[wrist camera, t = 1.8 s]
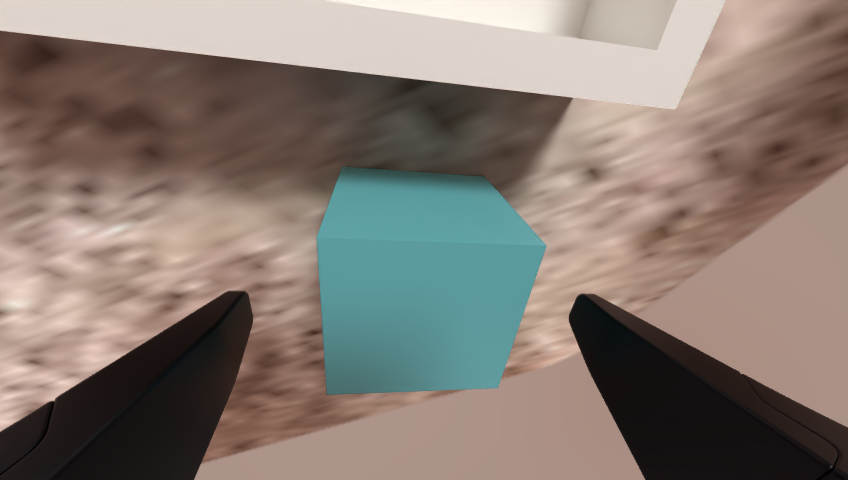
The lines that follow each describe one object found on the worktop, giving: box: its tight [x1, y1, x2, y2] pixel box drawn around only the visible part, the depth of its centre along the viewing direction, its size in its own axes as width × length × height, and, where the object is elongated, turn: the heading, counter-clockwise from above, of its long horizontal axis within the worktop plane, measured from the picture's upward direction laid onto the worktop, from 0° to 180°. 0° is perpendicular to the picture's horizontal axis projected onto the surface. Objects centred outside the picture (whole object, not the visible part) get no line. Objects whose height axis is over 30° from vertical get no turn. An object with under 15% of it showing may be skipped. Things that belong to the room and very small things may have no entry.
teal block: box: [317, 167, 546, 395], centre depth 10 cm, size 5×5×5 cm
